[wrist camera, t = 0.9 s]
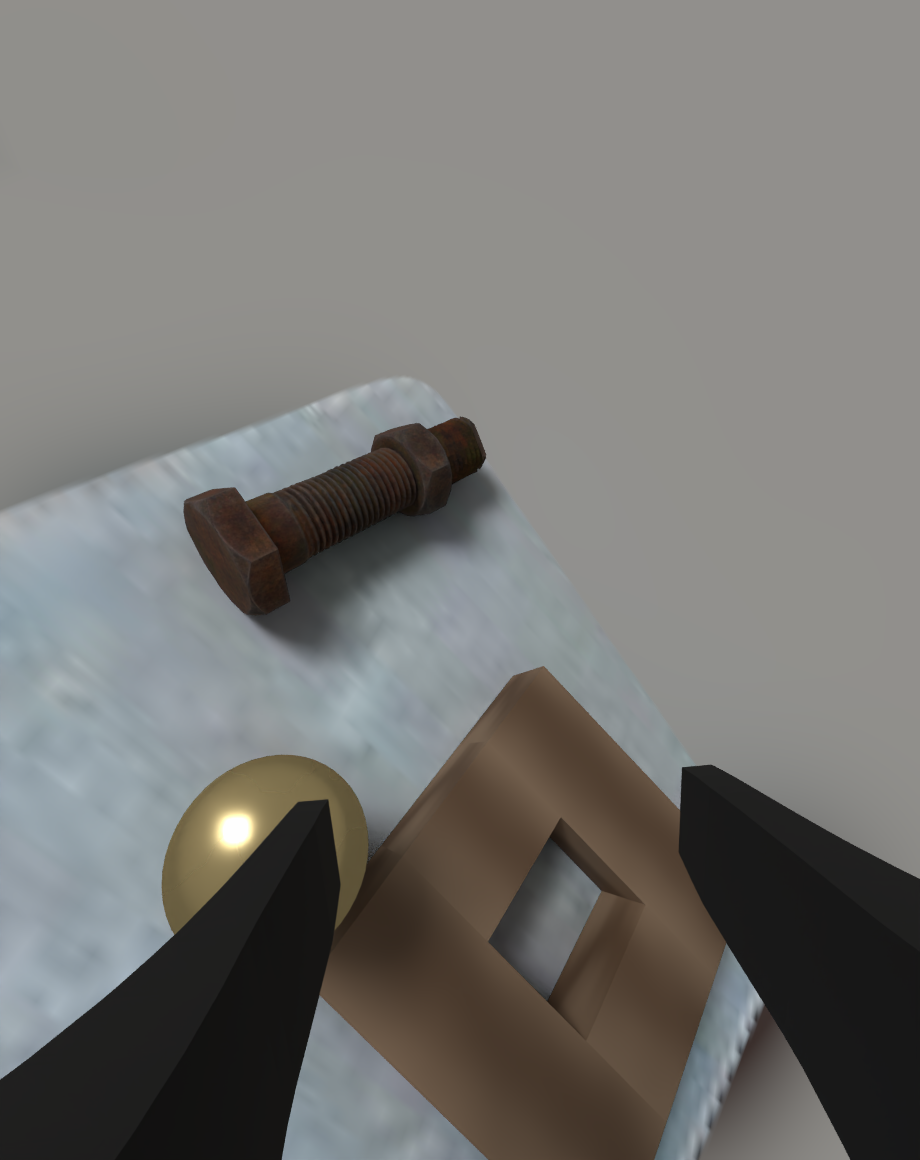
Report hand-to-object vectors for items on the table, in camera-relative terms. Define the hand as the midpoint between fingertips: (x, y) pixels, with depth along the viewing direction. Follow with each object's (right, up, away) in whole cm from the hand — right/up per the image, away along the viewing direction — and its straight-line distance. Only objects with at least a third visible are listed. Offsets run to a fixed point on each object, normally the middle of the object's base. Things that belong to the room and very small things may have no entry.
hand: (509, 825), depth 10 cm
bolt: (-7, +8, +16) cm, 20 cm away
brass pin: (-9, -5, +10) cm, 14 cm away
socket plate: (+2, -10, +13) cm, 17 cm away
